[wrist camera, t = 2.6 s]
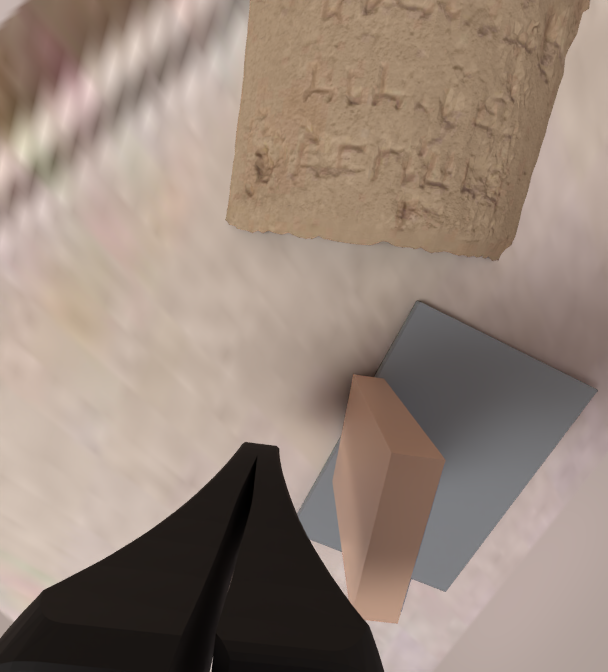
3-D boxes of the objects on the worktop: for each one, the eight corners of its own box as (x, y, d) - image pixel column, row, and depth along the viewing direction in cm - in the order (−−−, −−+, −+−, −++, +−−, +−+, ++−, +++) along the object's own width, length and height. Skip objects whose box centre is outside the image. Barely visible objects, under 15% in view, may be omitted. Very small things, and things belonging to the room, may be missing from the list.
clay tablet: (588, 9, 11) (676, -72, 9) (517, 270, 13) (570, 269, 11) (225, -42, 11) (199, -143, 8) (213, 233, 13) (190, 223, 10)
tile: (363, 484, 15) (402, 623, 9) (332, 481, 15) (351, 618, 9) (387, 379, 13) (451, 460, 8) (353, 374, 13) (391, 453, 8)
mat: (442, 584, 17) (445, 591, 16) (290, 525, 16) (290, 531, 15) (589, 386, 14) (597, 390, 14) (416, 300, 13) (420, 301, 13)
